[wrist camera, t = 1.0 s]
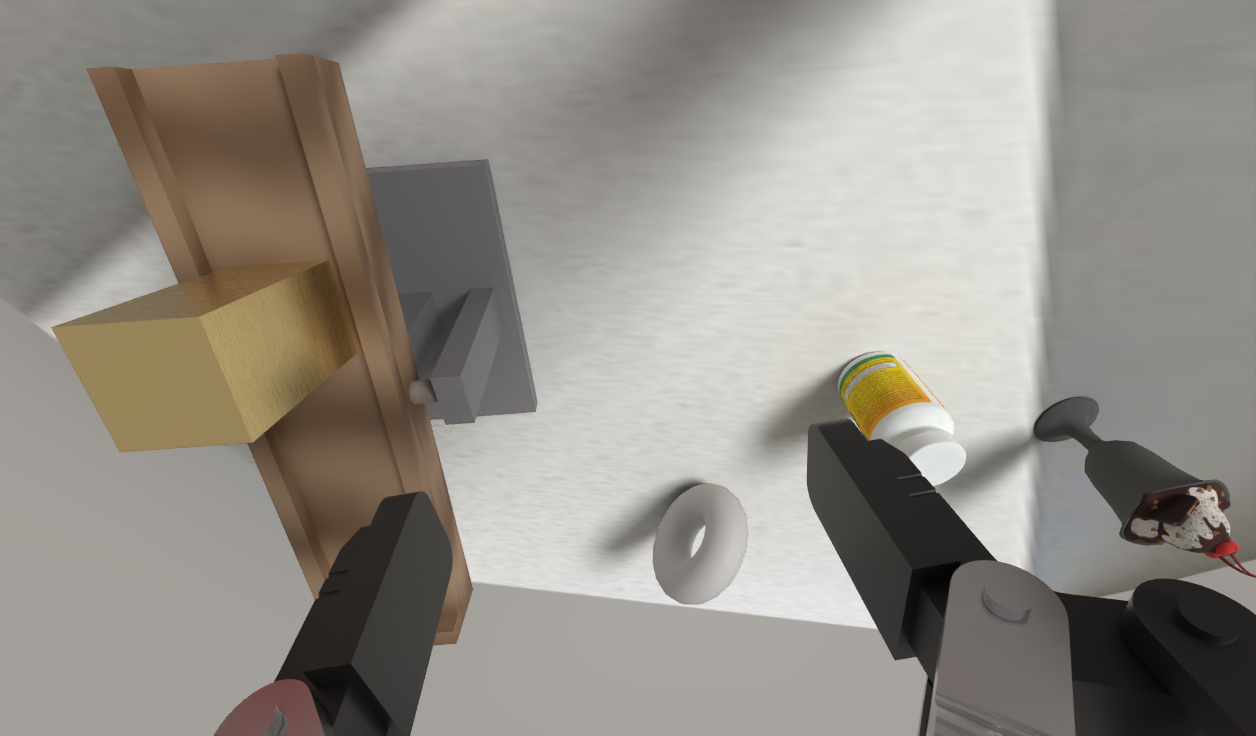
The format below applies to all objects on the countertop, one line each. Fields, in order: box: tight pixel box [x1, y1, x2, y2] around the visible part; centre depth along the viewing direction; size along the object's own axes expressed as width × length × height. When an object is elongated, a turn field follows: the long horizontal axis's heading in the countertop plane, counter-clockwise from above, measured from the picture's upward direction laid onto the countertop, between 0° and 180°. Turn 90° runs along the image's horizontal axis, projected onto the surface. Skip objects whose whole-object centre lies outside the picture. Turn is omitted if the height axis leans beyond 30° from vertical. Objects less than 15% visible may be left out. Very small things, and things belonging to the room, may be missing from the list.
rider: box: [51, 260, 357, 452], centre depth 20 cm, size 4×4×8 cm
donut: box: [653, 483, 748, 604], centre depth 43 cm, size 10×4×10 cm, turn 142°
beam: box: [87, 53, 473, 645], centre depth 26 cm, size 30×10×4 cm, turn 3°
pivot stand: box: [366, 160, 537, 425], centre depth 31 cm, size 18×16×11 cm
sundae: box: [1035, 397, 1256, 578], centre depth 38 cm, size 7×7×15 cm
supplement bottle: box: [838, 351, 966, 486], centre depth 36 cm, size 5×5×10 cm
